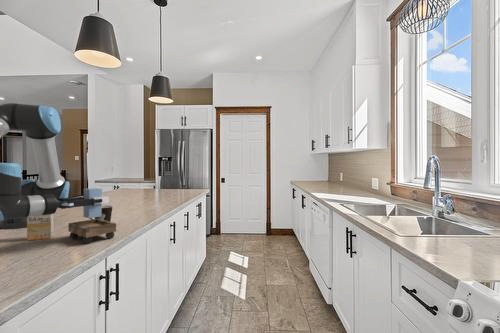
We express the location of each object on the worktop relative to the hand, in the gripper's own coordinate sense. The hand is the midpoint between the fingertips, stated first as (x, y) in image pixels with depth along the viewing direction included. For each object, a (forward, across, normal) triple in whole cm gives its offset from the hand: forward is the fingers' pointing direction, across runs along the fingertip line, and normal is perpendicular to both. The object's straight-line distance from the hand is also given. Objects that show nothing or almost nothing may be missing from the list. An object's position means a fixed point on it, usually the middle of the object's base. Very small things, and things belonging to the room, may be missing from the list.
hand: (105, 199), depth 115 cm
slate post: (-5, 0, -7) cm, 9 cm away
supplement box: (-18, -17, -17) cm, 30 cm away
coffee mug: (+8, -20, -16) cm, 27 cm away
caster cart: (-5, 0, -16) cm, 17 cm away
